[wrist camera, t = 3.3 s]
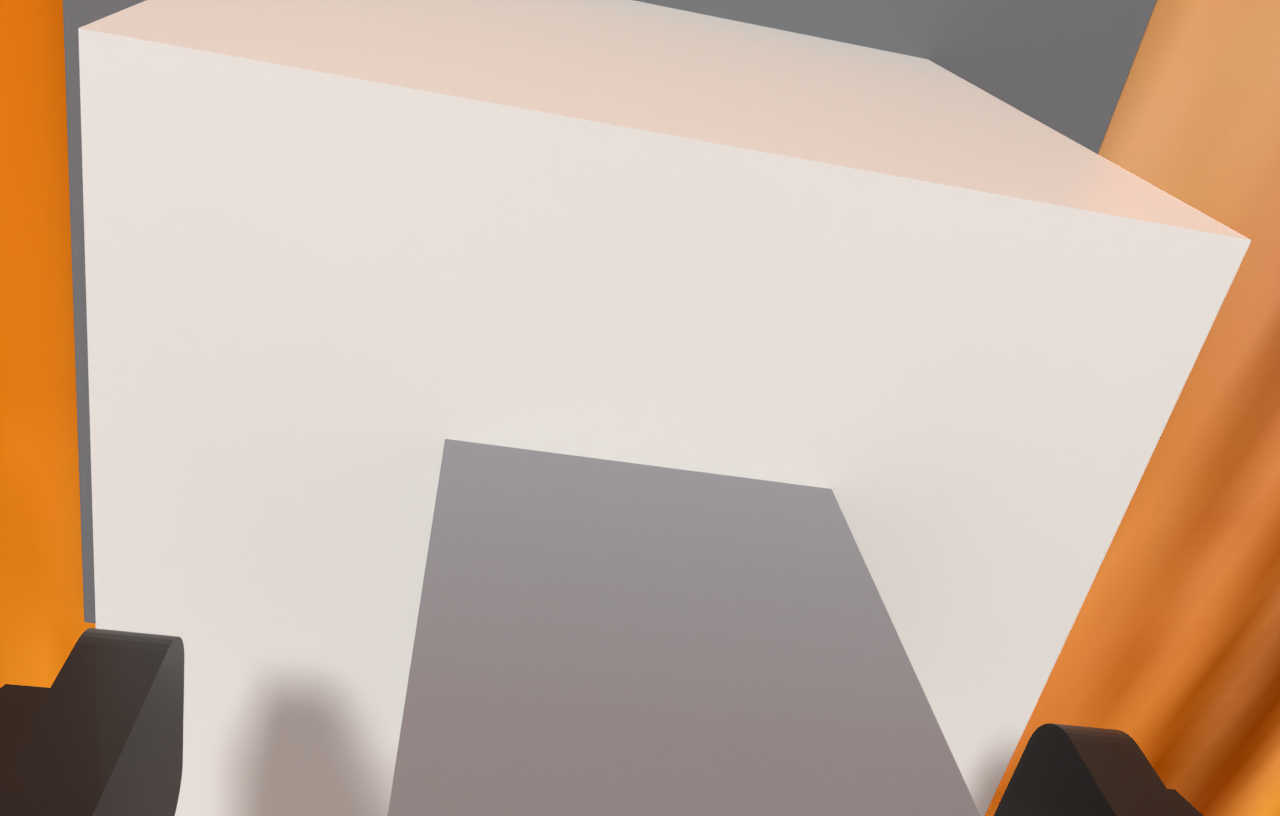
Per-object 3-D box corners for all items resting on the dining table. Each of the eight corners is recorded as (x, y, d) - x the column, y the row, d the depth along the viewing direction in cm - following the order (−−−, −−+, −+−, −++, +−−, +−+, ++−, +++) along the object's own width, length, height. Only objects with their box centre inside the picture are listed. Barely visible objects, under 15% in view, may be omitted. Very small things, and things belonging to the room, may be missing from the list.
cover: (927, 59, 19) (1983, 648, 5) (777, 555, 24) (1119, 1573, 10) (306, -66, 17) (-622, 316, 3) (273, 495, 22) (-179, 1627, 8)
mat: (1192, -127, 18) (1205, -127, 18) (882, 689, 26) (886, 700, 26) (60, -399, 16) (48, -405, 15) (91, 610, 23) (84, 622, 23)
